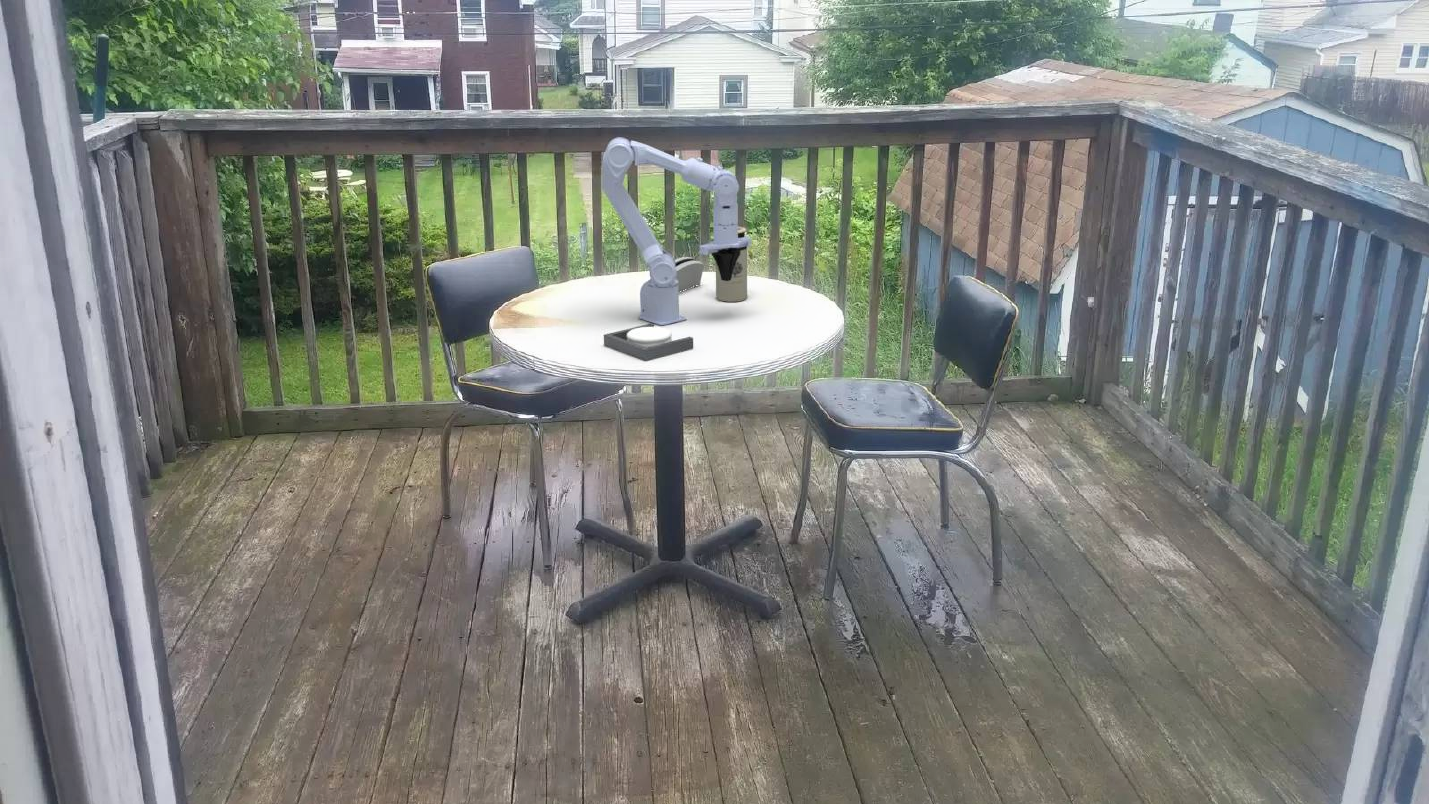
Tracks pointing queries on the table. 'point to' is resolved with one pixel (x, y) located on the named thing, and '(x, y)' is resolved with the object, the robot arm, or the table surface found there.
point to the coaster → (649, 336)
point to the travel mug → (734, 277)
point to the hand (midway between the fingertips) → (726, 280)
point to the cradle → (621, 344)
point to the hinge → (688, 272)
